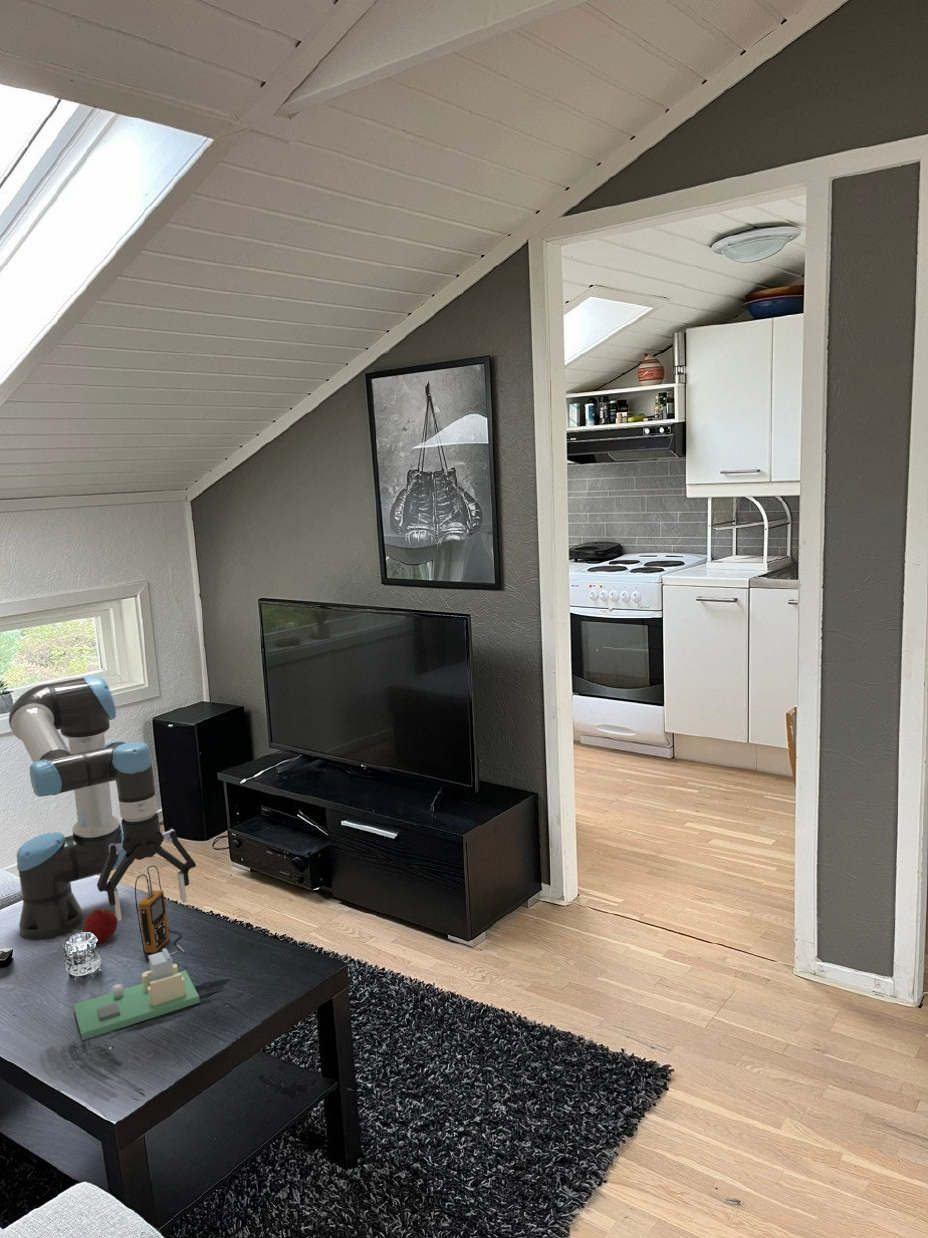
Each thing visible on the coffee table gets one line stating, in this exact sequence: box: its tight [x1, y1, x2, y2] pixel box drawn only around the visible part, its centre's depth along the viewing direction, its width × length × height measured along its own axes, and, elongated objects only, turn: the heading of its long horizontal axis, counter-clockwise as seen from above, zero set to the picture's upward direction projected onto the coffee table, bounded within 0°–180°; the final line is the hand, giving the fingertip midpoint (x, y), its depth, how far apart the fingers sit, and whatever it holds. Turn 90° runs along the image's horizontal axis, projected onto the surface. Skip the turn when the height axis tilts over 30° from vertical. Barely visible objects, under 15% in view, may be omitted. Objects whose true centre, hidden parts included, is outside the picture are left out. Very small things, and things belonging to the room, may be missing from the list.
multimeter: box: [134, 865, 185, 962], centre depth 231 cm, size 15×10×20 cm
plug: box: [148, 947, 174, 981], centre depth 209 cm, size 5×4×9 cm
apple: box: [82, 909, 118, 944], centre depth 238 cm, size 8×8×8 cm
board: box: [73, 963, 201, 1041], centre depth 207 cm, size 13×24×6 cm, turn 119°
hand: (151, 909), depth 207 cm, fingers open, 13 cm apart
